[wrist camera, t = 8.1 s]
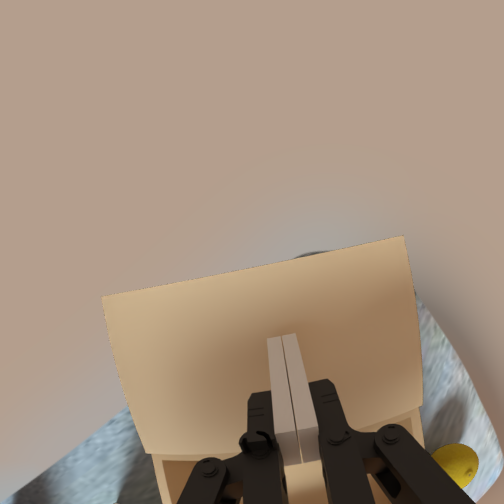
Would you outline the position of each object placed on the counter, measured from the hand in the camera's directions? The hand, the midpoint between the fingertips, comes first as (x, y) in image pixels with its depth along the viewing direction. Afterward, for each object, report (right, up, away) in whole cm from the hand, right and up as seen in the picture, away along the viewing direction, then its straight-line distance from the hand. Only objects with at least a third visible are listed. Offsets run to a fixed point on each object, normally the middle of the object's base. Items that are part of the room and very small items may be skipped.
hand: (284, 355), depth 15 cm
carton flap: (0, -7, +1) cm, 7 cm away
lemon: (+18, -18, +5) cm, 26 cm away
